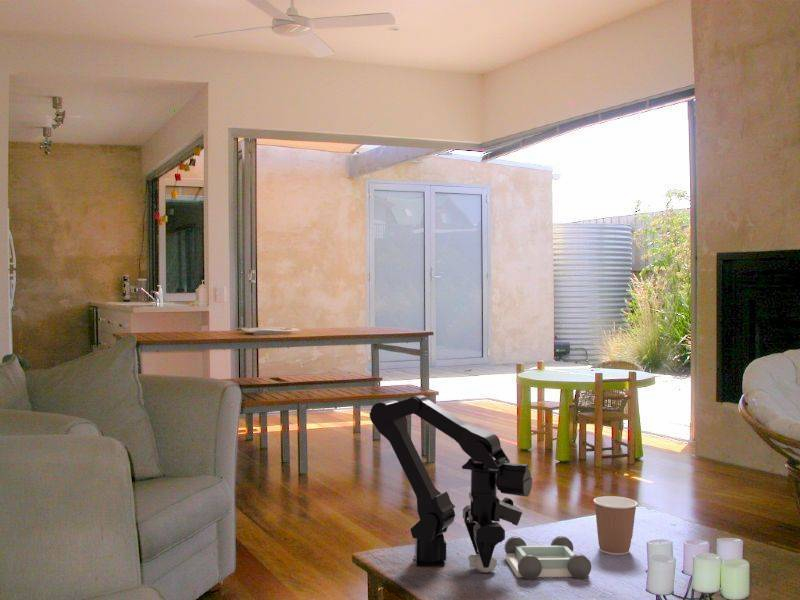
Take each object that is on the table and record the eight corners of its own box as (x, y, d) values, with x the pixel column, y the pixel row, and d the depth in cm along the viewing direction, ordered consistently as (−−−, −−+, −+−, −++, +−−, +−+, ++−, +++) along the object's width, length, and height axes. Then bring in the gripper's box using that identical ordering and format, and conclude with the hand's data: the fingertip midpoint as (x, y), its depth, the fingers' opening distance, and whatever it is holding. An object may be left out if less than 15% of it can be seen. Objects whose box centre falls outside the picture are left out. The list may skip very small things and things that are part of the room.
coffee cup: (645, 554, 203) (646, 504, 203) (609, 559, 200) (610, 508, 199) (619, 542, 213) (620, 494, 213) (584, 546, 209) (585, 497, 209)
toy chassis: (518, 579, 184) (519, 556, 184) (504, 557, 199) (504, 536, 199) (591, 578, 186) (591, 555, 186) (571, 556, 201) (571, 535, 201)
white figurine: (500, 574, 188) (501, 538, 187) (472, 577, 186) (473, 540, 186) (491, 566, 193) (492, 531, 193) (464, 569, 191) (464, 533, 191)
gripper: (529, 501, 180) (527, 574, 181) (510, 480, 199) (508, 547, 199) (477, 501, 179) (475, 575, 180) (463, 480, 198) (461, 547, 198)
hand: (482, 560), depth 189 cm, fingers open, 9 cm apart
